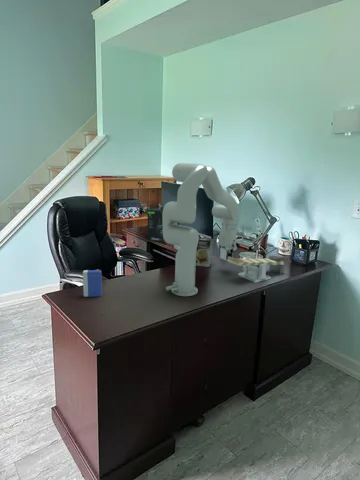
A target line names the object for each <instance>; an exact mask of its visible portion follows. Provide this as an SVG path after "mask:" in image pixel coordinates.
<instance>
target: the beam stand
mask: <svg viewBox="0 0 360 480" xmlns="http://www.w3.org/2000/svg"><path fill="white" fill-rule="evenodd" d="M245 259H251V258H250V257H245ZM267 266H268V267H269V269H268V271H270V272H273V273H275V274H278V275H282V274H284V272H285V264H284V265H267V264H265V263H262V264H260V266H258V265H243V271H242V272H238V273H237V276H238V277H241V278H243V279H245V280H248V281H250V282H253V283H255V284H256V283H259V282H260V283H261V282H263V281H264V282H265V281H267V280H271V278H272V277H271V276H270V275H269V274H268V275H267V274H266V273H267Z"/></svg>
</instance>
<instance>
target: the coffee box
mask: <svg viewBox="0 0 360 480" xmlns="http://www.w3.org/2000/svg"><path fill="white" fill-rule="evenodd" d="M212 245H213V238H208V237H207V238H206V237H199V241H198V245H197V250H196V266H198V267H206V268H209V267H210V266H211V260H212V259H211V258H212Z"/></svg>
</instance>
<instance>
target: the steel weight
mask: <svg viewBox="0 0 360 480" xmlns="http://www.w3.org/2000/svg"><path fill="white" fill-rule="evenodd" d="M219 250H220V249H219ZM230 250H231V248H230ZM219 253H220V254H219V259H220V260H223V261H227V256H228V253H229V251H228V248H227V247H225V248H221V250H220V252H219ZM233 255H234V254H233ZM233 255H232V258H234V256H233Z"/></svg>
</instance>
